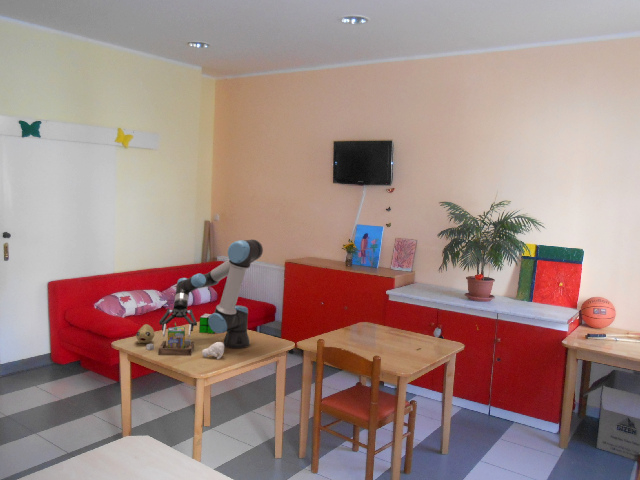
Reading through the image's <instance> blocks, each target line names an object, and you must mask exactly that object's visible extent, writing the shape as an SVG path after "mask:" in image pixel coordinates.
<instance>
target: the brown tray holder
mask: <svg viewBox="0 0 640 480" xmlns="http://www.w3.org/2000/svg"><path fill="white" fill-rule="evenodd" d="M194 348H195V341H191V344H190V345H185V348H168V344H167V341H166V340H163V341H162V343H161V344H160V346H159V347H158V350H157V353H158V354H157V355H158V356H192V353H193V351H194Z"/></svg>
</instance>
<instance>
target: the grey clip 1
mask: <svg viewBox="0 0 640 480" xmlns="http://www.w3.org/2000/svg"><path fill="white" fill-rule="evenodd" d="M145 349H146V350H148V351H152V350H155V344H152V343H150V344H148V343H146V348H145Z"/></svg>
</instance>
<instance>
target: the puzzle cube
mask: <svg viewBox="0 0 640 480" xmlns="http://www.w3.org/2000/svg"><path fill="white" fill-rule="evenodd" d="M210 315H211V313H210V314H209V313H204V314H203V315H201V316H200V317H199V327H198V328H199V331H198V333H201V334H213V335H216V333H215V332H214V331H212V329H211V328H210V326H209V317H210Z"/></svg>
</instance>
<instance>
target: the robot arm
mask: <svg viewBox="0 0 640 480" xmlns="http://www.w3.org/2000/svg"><path fill="white" fill-rule="evenodd" d="M263 253H264V247H263V245H262V243H261V242H260V241H259V240H257V239H243V240H242V239H240V240H235V241H233V242H232V243H230V245H229V247H228V249H227V256H228V259H227V260H226V261H224V262H223V263H221V264H220V265H218V266H216V267H215V268H213V269H212V270H211V271H209V272H208V273H204V274H202V273H196V274H194V275H192V276H190V277H189V278H187V277H181V278H179V279H178V280H177V283H176V288H175V296H174V302H173V308H172V309H170V308H167V309H166V311H165V313H164V315H163V316H162V317H161V319H160V320H159V321H158V322H159V325H160V326H161V331H162V337H164V338H165V336H166V332H167V331H166V330H167V325H168V324H169V323H170V322H171V321H172V320H174V319H182V318H183V319H184V320H186V322H187V323H188V324H189V327H188V338H190V337H191V334H192V332H193V331H194V327H195V326H198V322H197V320H196V317H195V316H194V313H193V309H189V310H188V304H189V303H188V302H189V297H190V293H192V292H193V291H196V290H197V289H202V288H207V287H213V286H215V285H216V286H217V284H219V282H220V281H221V280H223V279H225V278H226V277H227V278H226V281H225V284H224V288H223V292H222V294H221V295H222V296H221V299H220V302H219V304H217V305H216V306H215V310H214V312H213V313H212V314H211V313H210V314H211V315H210V317H209V326H210V328H211V329H212V331H214V332H215V334H224V333H225V335H224V338H223V342H222V343H223V344H224V347H226V348H230V349H243V348H248V347H249V346H250V345H251V344H250V343H251V342H250V338H249V334H248V321H249V320H248V318H249V309H248V307H246V306H245V305H244V306H243V305H237V302H238V299H239V295H240V292H241V288H242V286H243V285H242V284H243V282H244V278H245V274H246V272H247V270H248V269H249V268H250V267H251V264H252V263H254V262H255V261H257V260H258V259H260V258H261V257H262V255H263ZM187 314H189V315H190V317H189V316H188V315H187ZM190 318H191V319H190Z"/></svg>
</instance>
